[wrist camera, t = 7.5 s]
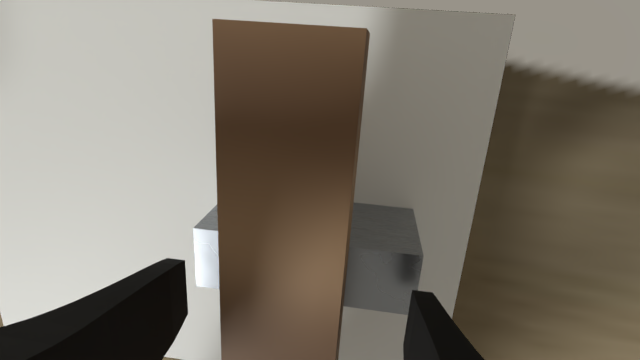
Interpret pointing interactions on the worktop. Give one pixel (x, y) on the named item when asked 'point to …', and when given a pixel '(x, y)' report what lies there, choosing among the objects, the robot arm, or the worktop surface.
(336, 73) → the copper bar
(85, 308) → the robot arm
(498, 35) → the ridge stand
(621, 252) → the worktop surface
